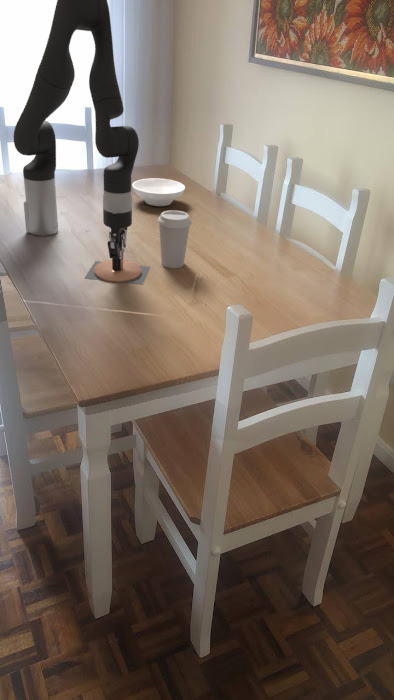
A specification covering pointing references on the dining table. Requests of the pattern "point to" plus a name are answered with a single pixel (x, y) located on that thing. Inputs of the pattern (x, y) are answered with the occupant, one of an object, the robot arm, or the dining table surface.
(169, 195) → the bowl
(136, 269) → the lid
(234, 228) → the dining table surface
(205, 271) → the dining table surface
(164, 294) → the dining table surface
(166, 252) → the coffee cup
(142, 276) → the mat
